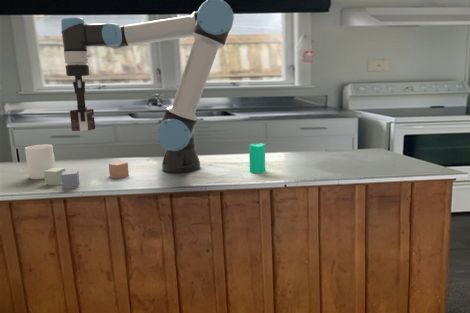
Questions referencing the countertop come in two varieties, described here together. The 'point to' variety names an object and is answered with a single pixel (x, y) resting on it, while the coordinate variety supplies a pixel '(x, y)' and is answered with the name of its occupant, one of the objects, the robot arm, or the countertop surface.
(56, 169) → the cube sage
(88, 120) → the box
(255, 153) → the candle
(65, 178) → the cube slate
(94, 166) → the countertop surface
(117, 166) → the cube terracotta
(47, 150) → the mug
